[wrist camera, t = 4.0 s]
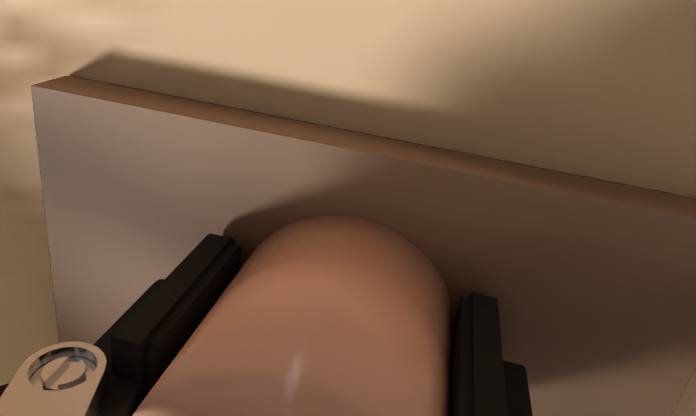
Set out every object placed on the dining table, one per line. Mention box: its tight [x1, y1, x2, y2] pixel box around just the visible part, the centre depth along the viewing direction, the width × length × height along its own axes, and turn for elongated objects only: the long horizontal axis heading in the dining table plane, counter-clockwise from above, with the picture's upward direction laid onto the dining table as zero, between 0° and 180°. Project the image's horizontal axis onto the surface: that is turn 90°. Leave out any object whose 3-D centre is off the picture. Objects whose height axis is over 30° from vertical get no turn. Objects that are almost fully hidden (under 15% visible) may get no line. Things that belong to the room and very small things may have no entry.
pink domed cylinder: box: [132, 215, 453, 416], centre depth 10 cm, size 5×5×5 cm
